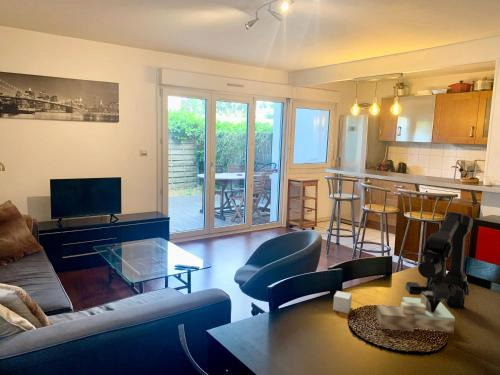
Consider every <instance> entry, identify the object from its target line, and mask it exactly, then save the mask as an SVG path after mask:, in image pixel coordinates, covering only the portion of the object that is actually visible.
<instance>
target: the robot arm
mask: <svg viewBox="0 0 500 375" xmlns="http://www.w3.org/2000/svg"><path fill="white" fill-rule="evenodd" d="M473 224H474V219H473V218H472V217H471V216H470V215H465V214H463V213H461V212H457V211H456V212H455V211H447V214H446V218H445V220H444V221H443V222H442V225H441V226H440V228H439V230H438V231H436V232H433V233H432V234H430V236H429V237H428V238H427V239H426V242H425V245H424V248H423V250H422V253H421V255H422V257H425V259H424V261H423V260H422V262H420V263H419V265H418V267H417V270H418V273H419V275H421V276H422V277H423V278H426V281H425V282H424V284H425V285H420V284H419V283H418V282H414V281H413V282H412V281H408V282H406V284H405V290H406V292H407V293H408V294H409V295H412V296H420V295H424V296H425V297H426V299H427V301H428V305H429V308H430V311H431V313H434V312H435V310H436V308H437V306H438V304H439V303H440V302H441V303H442V301H443V302H444V304H445V305H446V306H447V307H448V308H449V309H460V310H466V306H465V300H466V299H465V298H466V296H469V295H470V286H469V282H468V281H467V280H468V278H467V277H468V276H467V274H466V272H465V271H464V260H465V259H464V258H465V246H466V236H467V235H468V233H470V231H471V230H472V227H473ZM451 239H452V240H451ZM451 241H452V242H451ZM450 256H451V257H450ZM449 258H450V269H449V271H447V273H446V265H447V260H448V259H449Z"/></svg>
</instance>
